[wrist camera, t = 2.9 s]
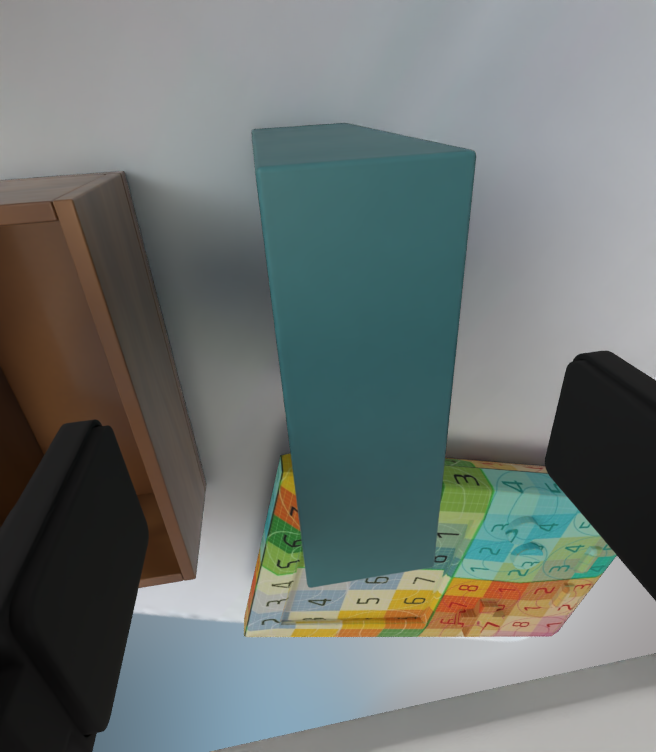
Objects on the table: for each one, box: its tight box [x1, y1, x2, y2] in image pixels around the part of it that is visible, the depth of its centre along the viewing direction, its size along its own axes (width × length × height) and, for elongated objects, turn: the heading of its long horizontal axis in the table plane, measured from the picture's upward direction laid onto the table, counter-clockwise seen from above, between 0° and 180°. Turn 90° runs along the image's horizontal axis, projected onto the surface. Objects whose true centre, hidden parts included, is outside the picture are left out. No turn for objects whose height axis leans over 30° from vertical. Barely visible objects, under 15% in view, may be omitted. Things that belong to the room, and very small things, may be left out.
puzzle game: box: [244, 453, 617, 637], centre depth 25 cm, size 12×5×20 cm
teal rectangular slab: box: [252, 123, 476, 588], centre depth 14 cm, size 3×10×11 cm, turn 3°
